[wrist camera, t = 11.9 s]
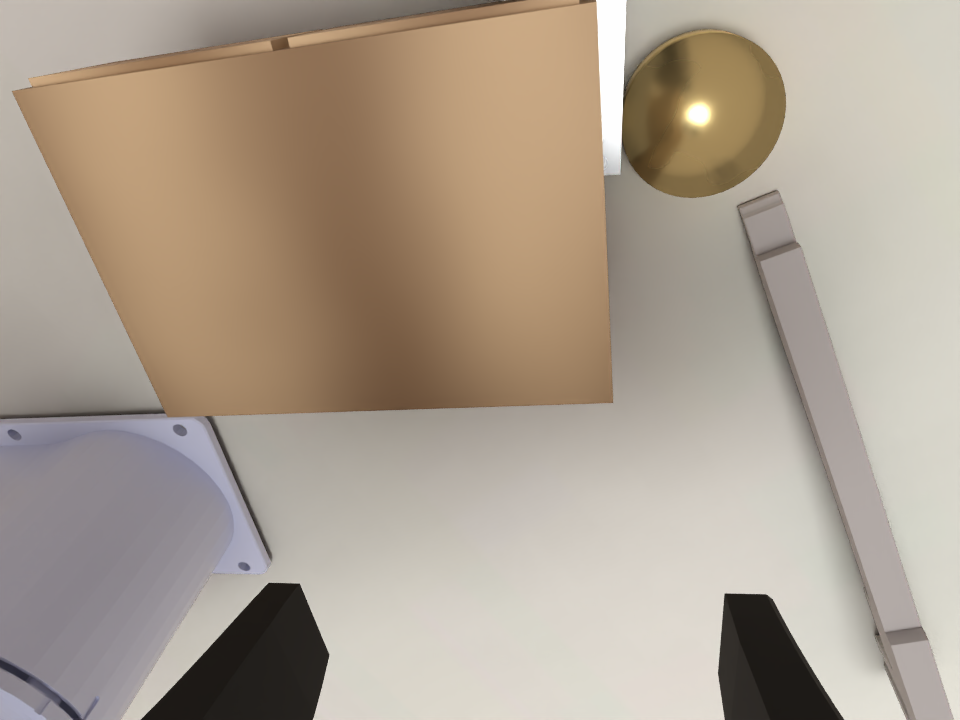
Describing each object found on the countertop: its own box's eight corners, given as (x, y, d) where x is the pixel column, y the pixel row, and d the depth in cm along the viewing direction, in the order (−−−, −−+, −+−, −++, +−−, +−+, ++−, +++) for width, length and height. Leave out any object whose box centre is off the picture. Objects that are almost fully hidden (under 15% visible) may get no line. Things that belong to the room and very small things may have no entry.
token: (616, 185, 17) (617, 199, 16) (622, 33, 15) (626, 37, 14) (759, 182, 16) (771, 196, 15) (785, 23, 14) (800, 27, 13)
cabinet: (278, 299, 20) (167, 417, 14) (195, 46, 16) (7, 82, 11) (605, 276, 18) (613, 402, 13) (592, -17, 14) (596, -11, 9)
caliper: (913, 661, 25) (1004, 850, 19) (882, 665, 25) (962, 852, 20) (775, 185, 16) (867, 288, 11) (731, 203, 17) (800, 311, 11)
